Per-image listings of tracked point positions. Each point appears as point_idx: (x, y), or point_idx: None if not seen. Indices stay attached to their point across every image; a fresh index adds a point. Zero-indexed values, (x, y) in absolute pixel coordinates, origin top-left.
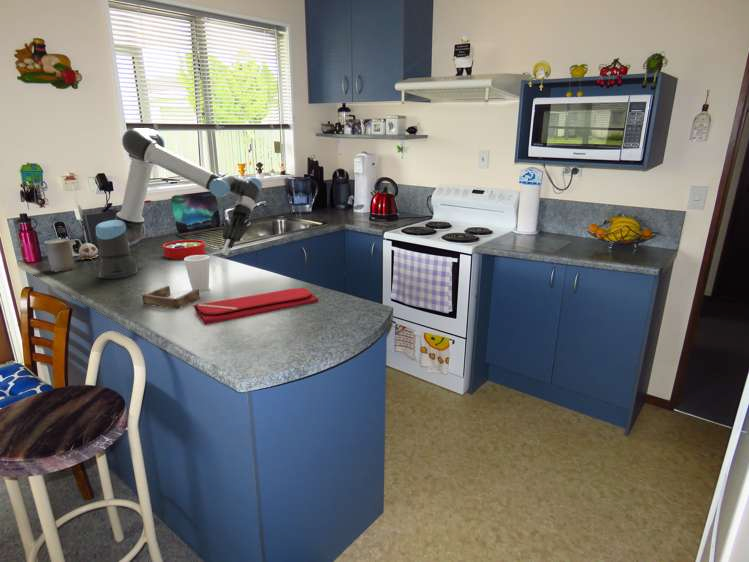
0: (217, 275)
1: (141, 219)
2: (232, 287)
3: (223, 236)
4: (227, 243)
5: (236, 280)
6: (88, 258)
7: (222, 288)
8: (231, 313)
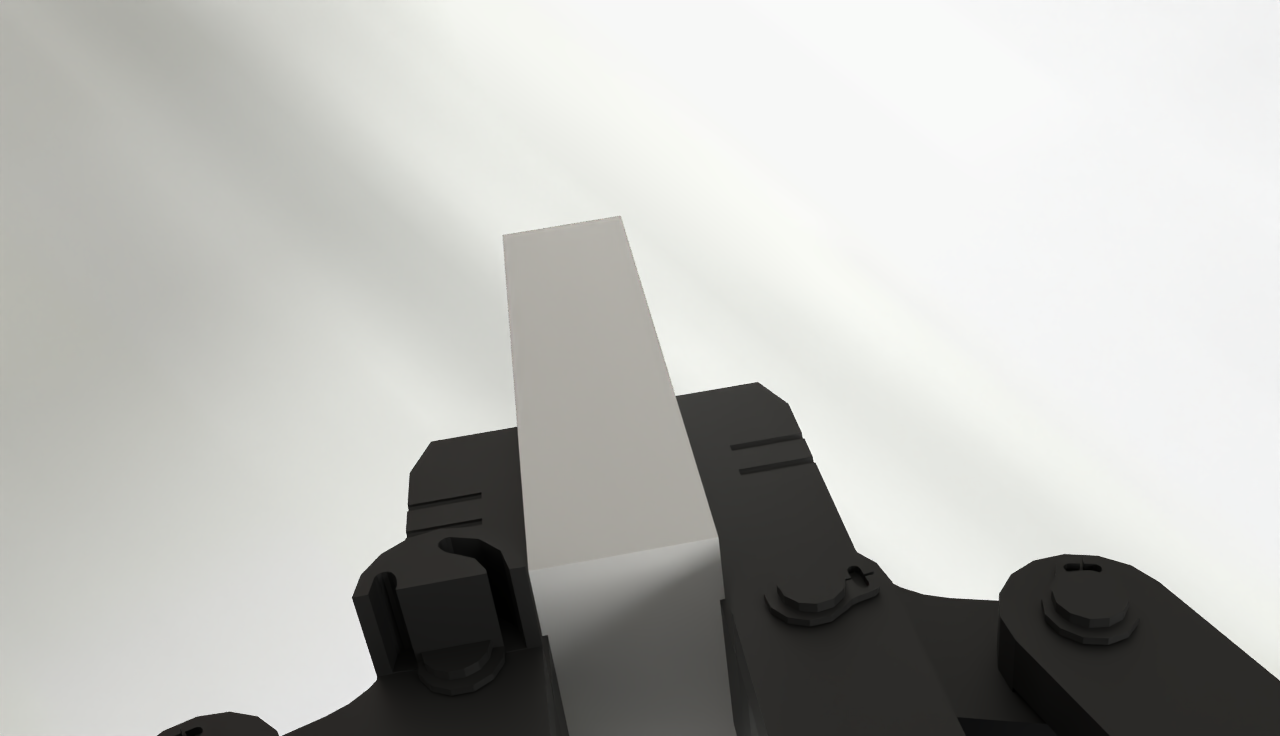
0: (937, 528)
1: None
2: (119, 134)
3: (1062, 579)
4: (544, 418)
5: (343, 463)
6: None
7: (239, 24)
8: None
